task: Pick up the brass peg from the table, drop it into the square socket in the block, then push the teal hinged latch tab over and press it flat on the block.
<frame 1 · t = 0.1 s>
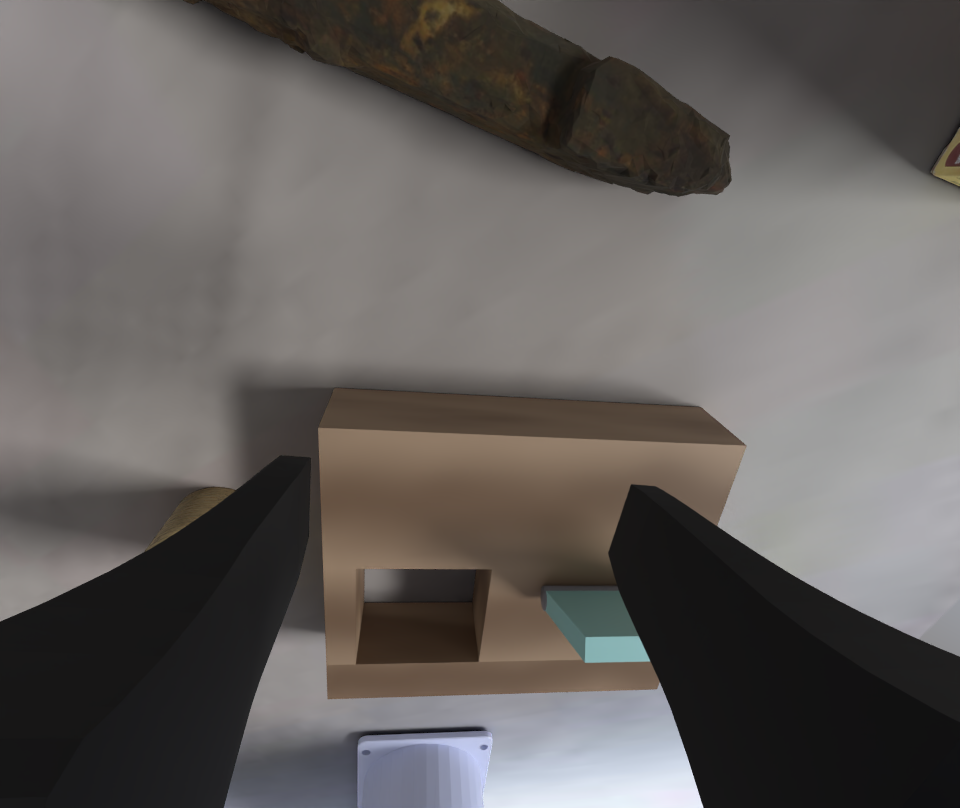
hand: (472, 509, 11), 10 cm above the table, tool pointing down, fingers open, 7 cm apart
dark brown log: (456, 51, 16), on the table
peg: (223, 524, 22), on the table
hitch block: (506, 529, 24), on the table
latch tab: (635, 617, 19), point 6 cm above the table, hinge at 61.9°, touching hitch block
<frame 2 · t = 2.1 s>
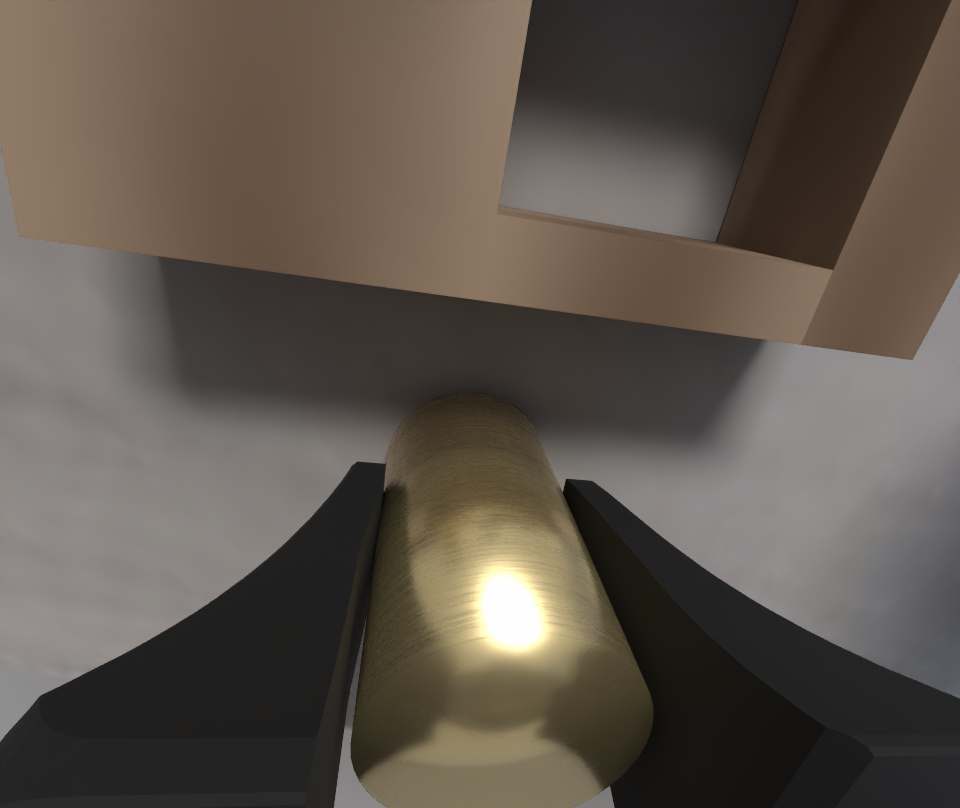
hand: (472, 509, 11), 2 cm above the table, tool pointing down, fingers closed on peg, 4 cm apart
peg: (465, 463, 13), on the table, touching gripper
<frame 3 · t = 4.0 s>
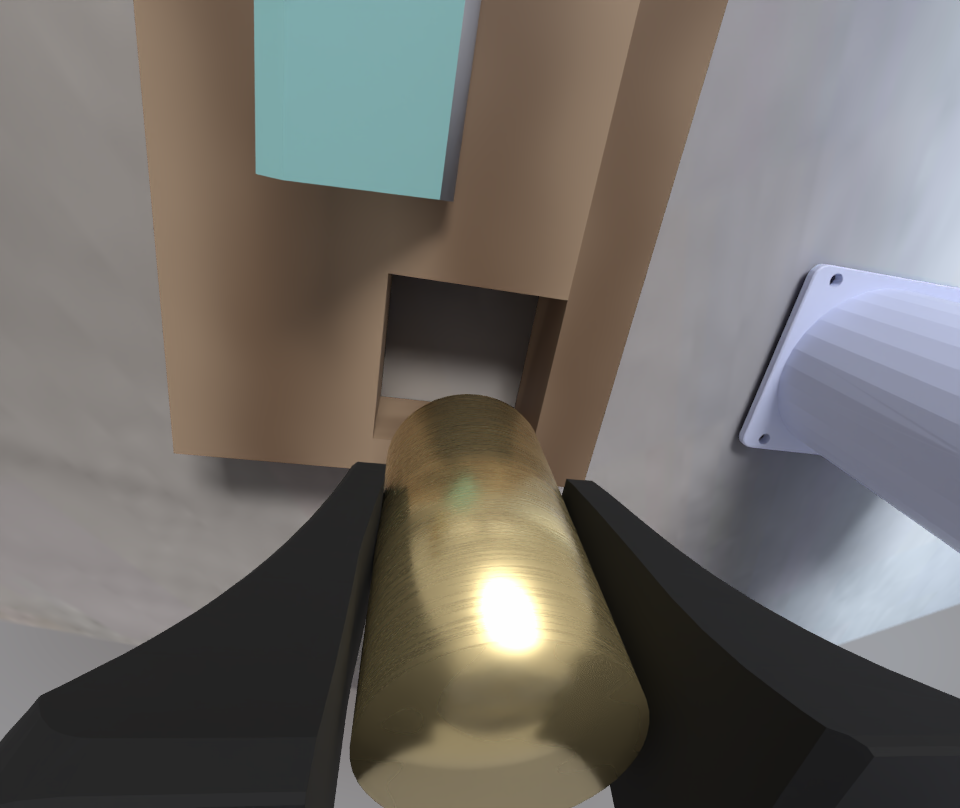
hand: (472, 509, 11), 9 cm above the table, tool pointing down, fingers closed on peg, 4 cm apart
peg: (464, 464, 13), point 7 cm above the table, touching gripper
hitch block: (419, 222, 17), on the table
latch tab: (386, 34, 10), point 6 cm above the table, hinge at 50.3°
when the fingers open (4 cm above the table, at t = 5.8 s): peg drops 2 cm, resting in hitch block.
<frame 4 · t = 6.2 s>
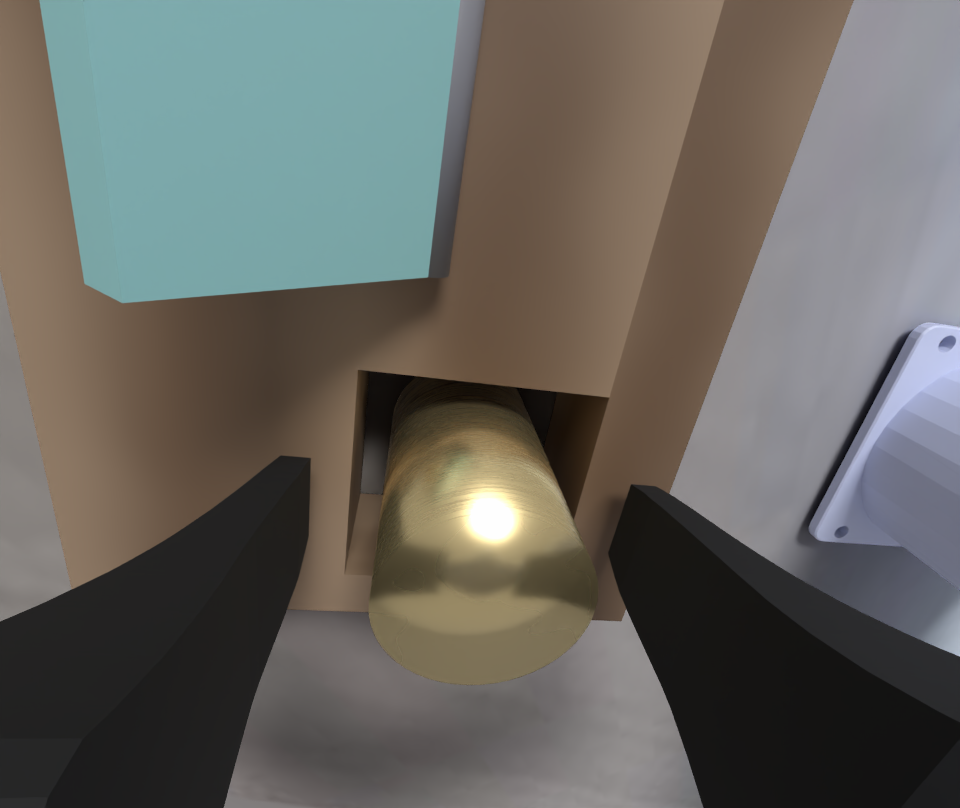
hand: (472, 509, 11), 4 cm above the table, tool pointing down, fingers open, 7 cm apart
peg: (459, 424, 15), resting in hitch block
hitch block: (405, 280, 13), on the table
latch tab: (329, 28, 6), point 6 cm above the table, hinge at 50.2°
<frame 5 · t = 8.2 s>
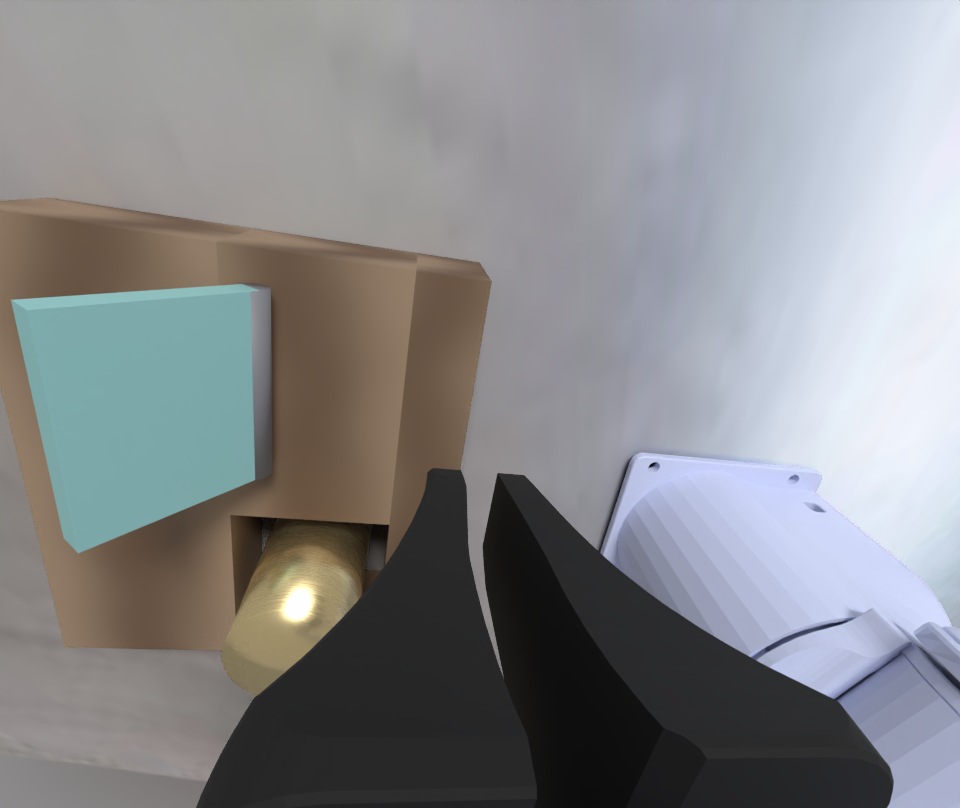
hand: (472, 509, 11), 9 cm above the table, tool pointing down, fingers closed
peg: (326, 520, 22), resting in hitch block
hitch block: (278, 437, 20), on the table
latch tab: (176, 406, 13), point 6 cm above the table, hinge at 50.2°
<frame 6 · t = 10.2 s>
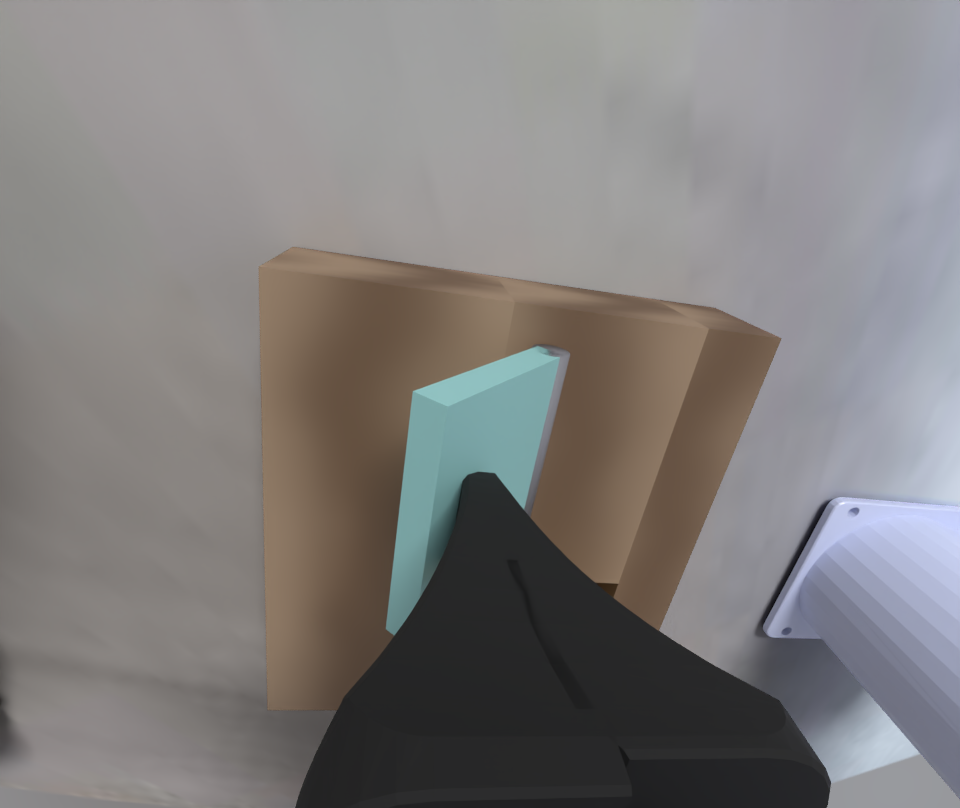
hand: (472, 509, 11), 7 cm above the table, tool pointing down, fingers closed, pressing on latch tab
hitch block: (480, 486, 19), on the table
latch tab: (485, 481, 12), point 6 cm above the table, hinge at 50.2°, touching gripper
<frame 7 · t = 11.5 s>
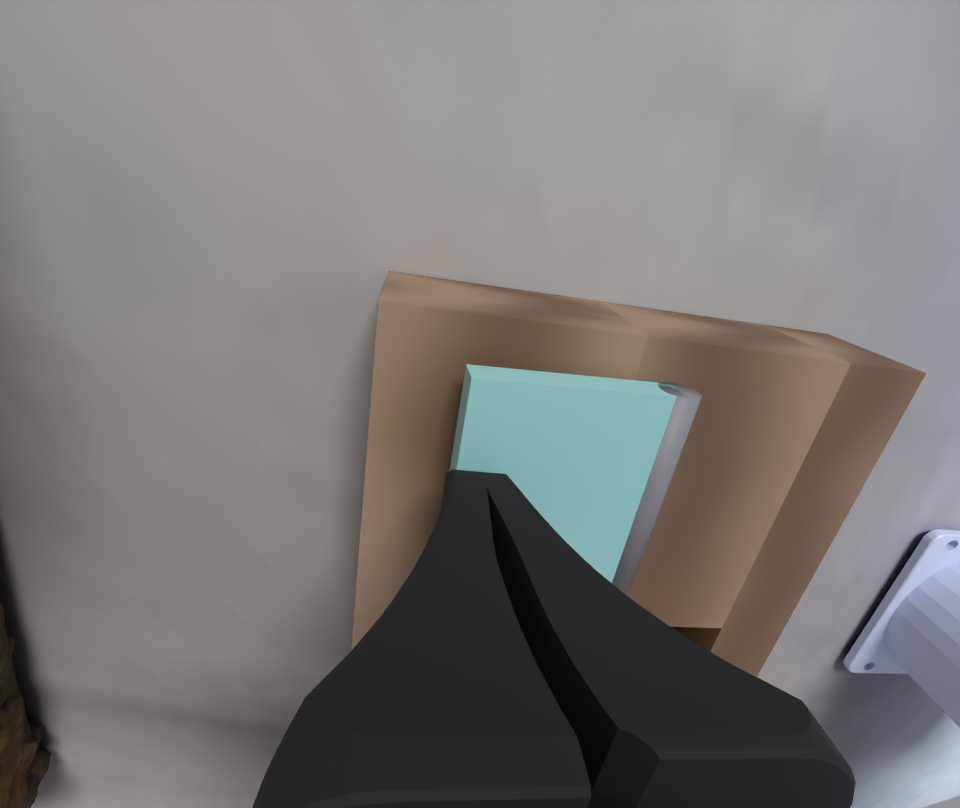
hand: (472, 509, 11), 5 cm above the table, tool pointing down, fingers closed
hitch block: (564, 520, 18), on the table
latch tab: (559, 493, 12), point 4 cm above the table, hinge at 3.4°
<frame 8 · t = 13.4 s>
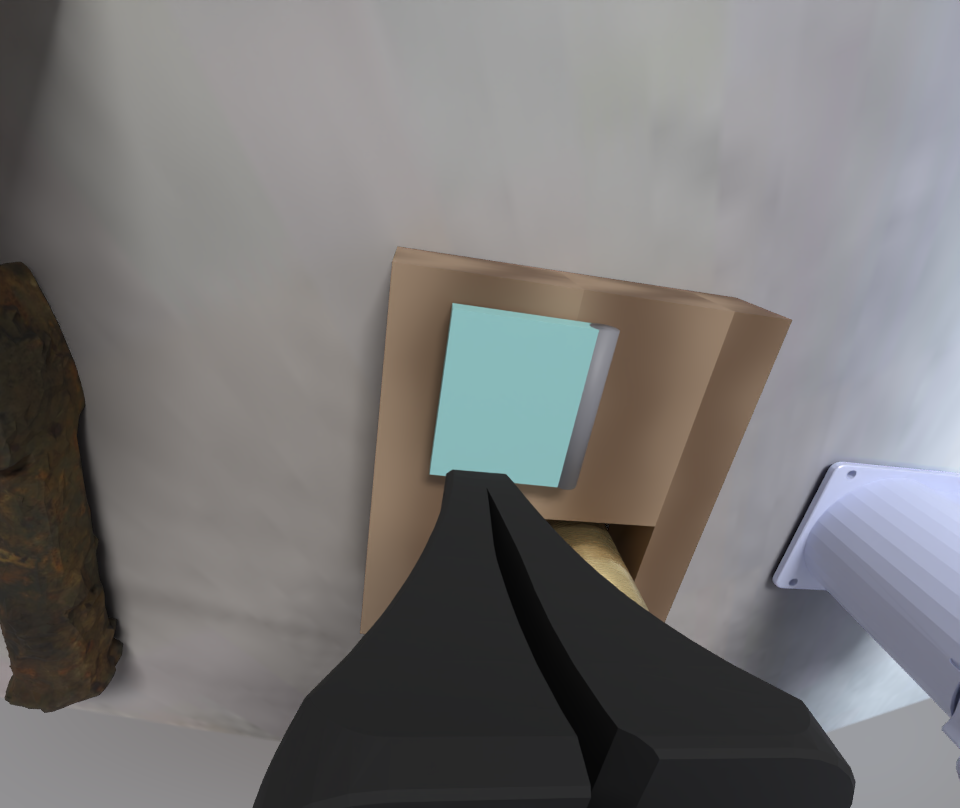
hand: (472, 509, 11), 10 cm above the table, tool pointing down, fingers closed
dark brown log: (58, 480, 22), on the table
peg: (557, 522, 25), resting in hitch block
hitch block: (535, 449, 23), on the table
latch tab: (519, 402, 17), point 4 cm above the table, hinge at -2.3°
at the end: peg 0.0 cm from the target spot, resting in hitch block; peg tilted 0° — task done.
